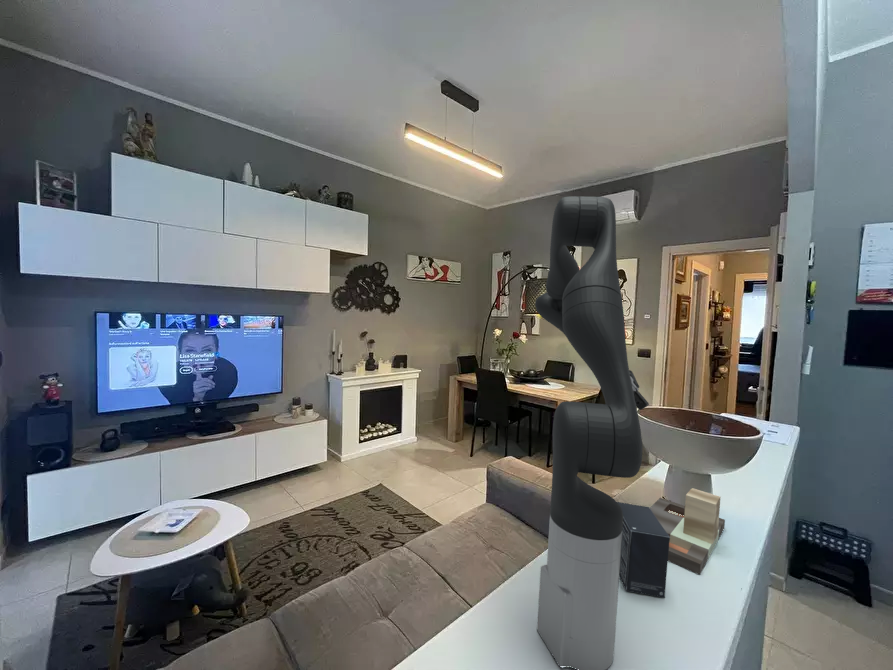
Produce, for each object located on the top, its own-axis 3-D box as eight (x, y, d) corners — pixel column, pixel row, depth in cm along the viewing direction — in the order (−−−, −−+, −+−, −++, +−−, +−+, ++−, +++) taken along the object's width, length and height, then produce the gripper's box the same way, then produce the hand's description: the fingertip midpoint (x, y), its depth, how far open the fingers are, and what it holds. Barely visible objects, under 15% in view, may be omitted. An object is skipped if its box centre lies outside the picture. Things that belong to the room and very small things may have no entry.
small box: (668, 600, 60) (672, 537, 59) (625, 592, 61) (629, 530, 60) (646, 559, 70) (650, 505, 69) (610, 553, 71) (613, 500, 71)
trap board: (699, 575, 66) (700, 564, 66) (624, 541, 75) (624, 531, 75) (724, 528, 82) (725, 519, 82) (659, 505, 91) (660, 497, 91)
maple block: (712, 544, 72) (715, 504, 72) (683, 533, 76) (685, 494, 75) (717, 534, 76) (720, 496, 75) (689, 524, 79) (691, 487, 79)
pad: (707, 559, 70) (708, 549, 70) (669, 543, 75) (670, 534, 75) (718, 539, 77) (719, 530, 77) (682, 526, 82) (683, 517, 82)
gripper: (594, 339, 85) (648, 401, 77) (617, 338, 94) (667, 394, 86) (571, 359, 89) (620, 421, 81) (595, 357, 98) (641, 412, 90)
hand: (644, 407), depth 83 cm, fingers closed
